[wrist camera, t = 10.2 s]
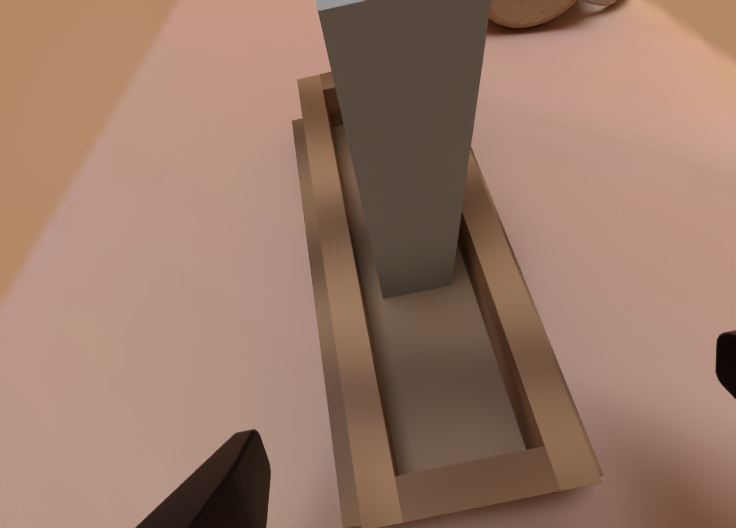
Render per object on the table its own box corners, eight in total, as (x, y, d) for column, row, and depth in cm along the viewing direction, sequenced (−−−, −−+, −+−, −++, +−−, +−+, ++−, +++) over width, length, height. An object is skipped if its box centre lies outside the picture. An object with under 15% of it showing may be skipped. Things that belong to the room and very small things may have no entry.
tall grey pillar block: (451, 285, 18) (494, -28, 7) (383, 298, 18) (318, 10, 7) (429, 210, 20) (436, -130, 9) (368, 223, 20) (298, -97, 9)
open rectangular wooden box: (593, 476, 15) (636, 475, 12) (348, 525, 15) (328, 537, 12) (445, 100, 24) (448, 45, 21) (296, 133, 25) (278, 83, 21)
